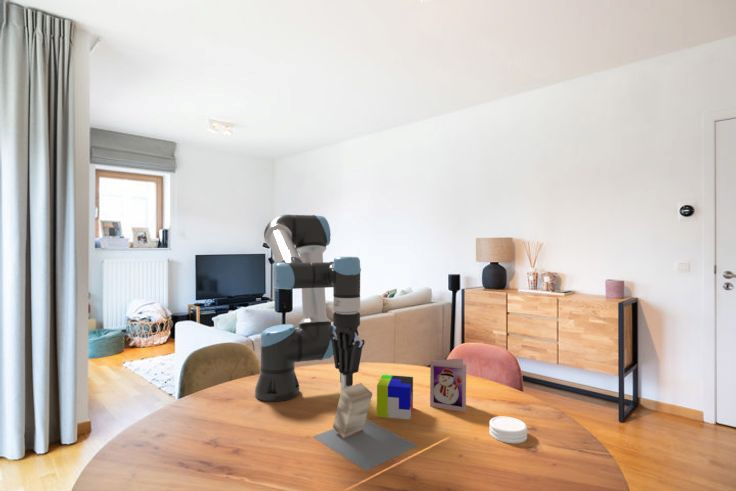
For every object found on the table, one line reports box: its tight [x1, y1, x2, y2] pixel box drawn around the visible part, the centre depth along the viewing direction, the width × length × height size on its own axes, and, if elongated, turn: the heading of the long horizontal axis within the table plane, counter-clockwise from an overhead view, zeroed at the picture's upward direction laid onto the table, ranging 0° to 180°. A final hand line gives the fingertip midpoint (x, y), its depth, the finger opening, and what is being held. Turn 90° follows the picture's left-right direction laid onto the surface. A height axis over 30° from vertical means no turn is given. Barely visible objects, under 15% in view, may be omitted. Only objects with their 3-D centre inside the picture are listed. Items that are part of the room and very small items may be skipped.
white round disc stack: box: [488, 415, 528, 444], centre depth 114 cm, size 10×10×4 cm
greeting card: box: [429, 358, 467, 413], centre depth 134 cm, size 11×7×15 cm, turn 68°
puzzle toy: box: [376, 374, 414, 420], centre depth 128 cm, size 10×10×10 cm
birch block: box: [332, 382, 373, 439], centre depth 113 cm, size 5×7×12 cm
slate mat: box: [312, 419, 419, 472], centre depth 109 cm, size 22×18×1 cm
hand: (346, 396), depth 114 cm, fingers closed
